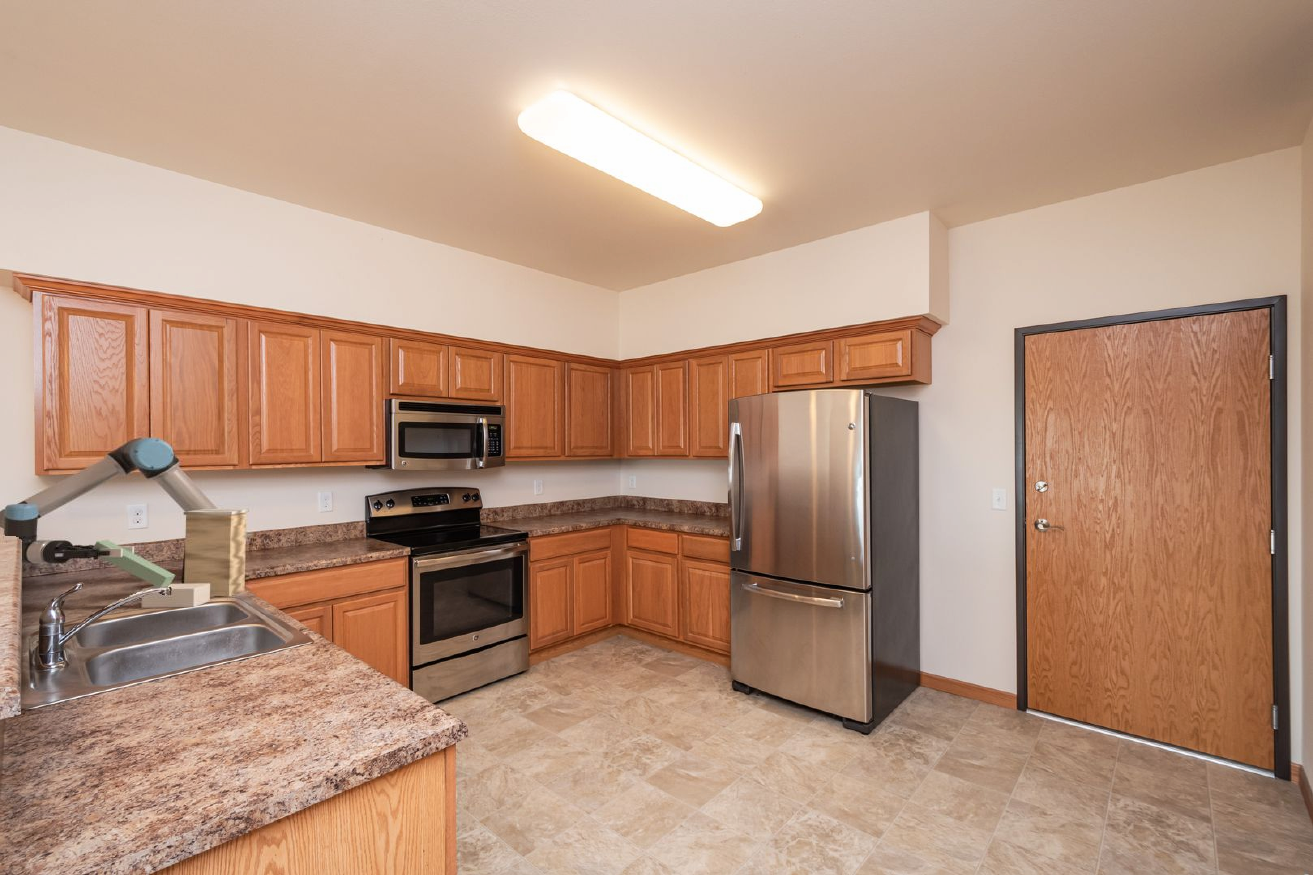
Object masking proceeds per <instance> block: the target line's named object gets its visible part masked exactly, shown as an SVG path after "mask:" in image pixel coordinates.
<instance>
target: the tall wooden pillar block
mask: <svg viewBox="0 0 1313 875" xmlns="http://www.w3.org/2000/svg"><path fill="white" fill-rule="evenodd" d="M247 513H249V509H247V508H245V509H244V508H241V509H239V508H234V509H233V508H230V509H226V508H225V509H224V508H222V509H219V508H217V509H201V510H194V511H187V512H185V511H183V515H184V516H185V538H184V539H185V540H184V541H185V542H184V543H185V544H184V549H185V572H184V584H197V583H210V598H215V597H214V596H230V597H232V595H233V596H235V595H237V594H240V593H242V592H245V590H246V589H245V588H246V587H245V584H246V582H245V581H246V580H245V579H246V578H245V577H246V550H247V549H246V547H247V546H246V545H247V544H246V542H247V540H246V531H247Z"/></svg>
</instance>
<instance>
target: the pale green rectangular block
mask: <svg viewBox="0 0 1313 875" xmlns="http://www.w3.org/2000/svg"><path fill="white" fill-rule="evenodd" d="M93 545H94V547H93V548H92V549H99V551H100V549H123V557H99V556H98V558H100V559H102V560H105V561H106V562H108V563H110V564H112V565H114V566H116V567H118V568H120V569H121V570H124V571H126V572H128V573H129V574H131V575H133V576H134V577H135V576H136V577H137V578H139V579H141V580H142V581H145V582H147V583H149V584H151V585H153V586H157V587H158V588H160V587H165V586H169V585H170V584H172V581H173V580H174V579H175V577H176V574H174V573H172V572H170V571H168V570H167V569H165V568H162V567H160V566H159V565H156V564H155V563H153V562H151V561H150V560H147V559H145V558H143V557H141V556H139V555H137V554H136V553H135V552H134V553H132V552H130V551H128V550H126V549H124V548H122V547H120V545H118V544H116V543H114V542H113V541H110V540H108V539H105V540H98V541H96V542H95V544H93Z"/></svg>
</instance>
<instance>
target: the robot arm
mask: <svg viewBox="0 0 1313 875" xmlns="http://www.w3.org/2000/svg"><path fill="white" fill-rule="evenodd" d="M180 461H181V460H180V459H179V458H178V457H177V456H176V455H175V454H174V450H173V448H172V446H171V445H170V444H169V443H168V442H167V441H164V440H162V439H160V438H157V437H142V438H141V437H140V438H138V437H137V438H134V439H130V440H129V441H127V442H125V443H124V444H122V445H120V446H119V447H118V448H115V449H114V450H112V451H110V452H109V453H106V454H105V455H104V458H103V459H101V460H99V461H97V462H96V463H93V464H91V465H90V466H88V467H86V468H84V469H82V470H80V471H78V472H76V473H74V474H71V475H70V476H69V477H66V478H64V479H62V480H60V481H59V482H57V483H55V484H53V485H51V486H48V487H47V488H45V489H43V490H41V491H40V492H38V493H35V494H33V495H32V496H29V497H27V498H26V499H24V500H22V501H20V502H18V503H13V504H7V505H6V506H5V507H4V508H3V509H2V510H0V528H2V529H3V536H4V535H5V536H16V537H19V539H21V540H22V564H23V565H25V564H27V565H28V564H30V565H31V564H32V565H33V564H34V565H35V564H39V566H44V564H54V565H55V564H57V565H58V564H65V563H67V562H69V561H70V559H71V560H72V559H88V560H89V559H92V558H93V560H94V561H95V560H99V558H100V557H123V549H100V551H99V549H92V548H93V547H94V545H95V544H89V545H81V544H74V545H73V543H72V542H71V541H70V540H60V539H59V540H57V539H56V540H50V539H48V540H45V539H39V540H38V539H37V538H38V533H37V532H38V522H39V521H38V520H39V519H41V518H42V517H44V516H46V515H48V514H50V513H52V512H53V511H55V510H57V509H59V508H61V507H63V506H65V505H66V504H68V503H70V502H72V501H73V500H74V501H75V499H77V498H79V497H82V496H83V495H85V494H87V493H89V492H91V491H92V490H95V489H96V488H98V487H100V486H102V485H103V484H106V483H107V482H109V481H111V480H113V479H115V478H117V477H118V476H126V475H128V474H130V473H131V472H135V471H137V470H138V472H140V474H142V475H143V477H145V478H146V479H147V480H152V481H155V482H156V483H157V484H158V485H159V486H160V487H161V488H162V489H163V490H164V492H166V493H167V494H168V496H170V497H171V498H172V499H173V501H174V502H175V503H177V505H178V507H180V508H181V509H182V511H183V512H187V511H194V510H201V509H218V508H217V506H216V505H215V504H214V503H213V502H212V501H211V500H210V499H209V498H208V497H207V495H206V494H205V493H204V492H203V491H202V490H201V489H200V488H199V486H197V485H196V484H195V482H194V481H193V480H192V479H191V478H190V476H188V475H187V473H185V472H184V470H182V469H181V467H180ZM247 539H248V531H247V530H246V541H247ZM119 546H120V545H119ZM120 547H122V548H124V549H126V550H128V551H130V552H132V553H134V554H135V546H132V545H131V546H129V545H127V546H125V545H124V546H123V545H121V546H120ZM98 556H99V557H98Z"/></svg>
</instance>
